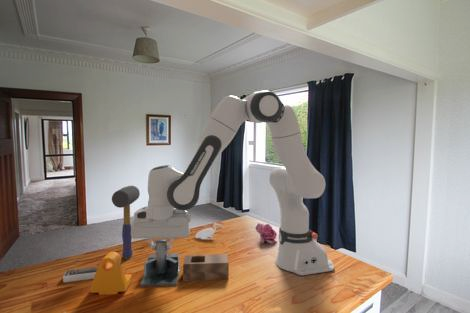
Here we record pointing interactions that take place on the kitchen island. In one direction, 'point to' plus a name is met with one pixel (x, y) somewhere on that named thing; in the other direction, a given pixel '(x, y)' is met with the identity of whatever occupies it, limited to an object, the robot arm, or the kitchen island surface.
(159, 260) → the steel axle
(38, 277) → the kitchen island surface
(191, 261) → the walnut beam
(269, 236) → the flower
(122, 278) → the bracket
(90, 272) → the multiport hub
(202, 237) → the figurine
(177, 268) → the V-block
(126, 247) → the rubber mallet
